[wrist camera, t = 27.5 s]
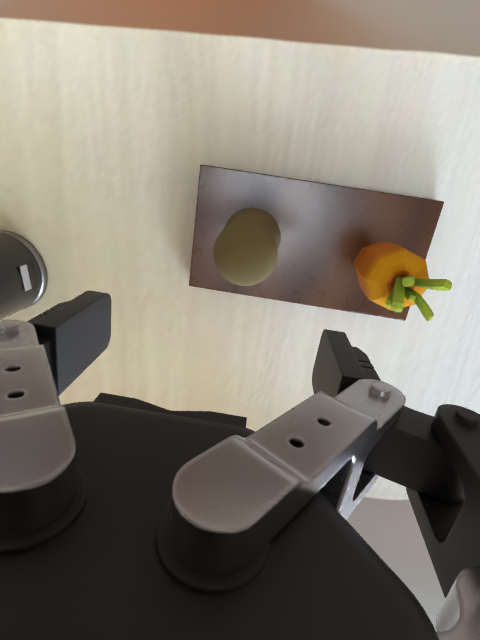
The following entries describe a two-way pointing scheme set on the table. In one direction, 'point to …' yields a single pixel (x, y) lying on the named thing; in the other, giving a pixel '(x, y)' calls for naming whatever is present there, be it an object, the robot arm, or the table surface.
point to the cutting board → (309, 235)
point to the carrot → (395, 277)
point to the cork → (247, 247)
